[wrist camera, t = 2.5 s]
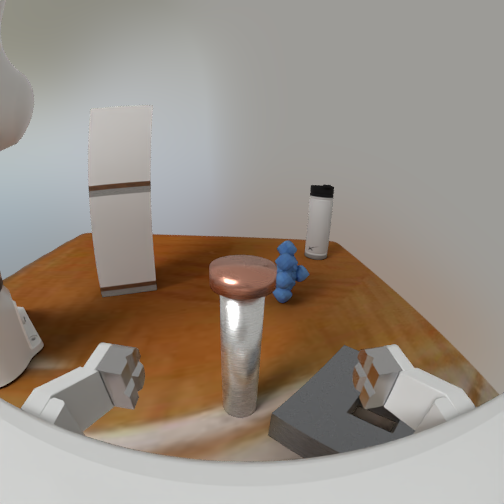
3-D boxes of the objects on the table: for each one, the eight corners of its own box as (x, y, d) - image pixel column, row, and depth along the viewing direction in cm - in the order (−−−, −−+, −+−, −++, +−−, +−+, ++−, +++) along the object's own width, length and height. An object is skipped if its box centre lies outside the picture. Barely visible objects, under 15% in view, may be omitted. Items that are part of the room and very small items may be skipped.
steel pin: (206, 403, 26) (195, 264, 21) (239, 382, 30) (243, 250, 25) (239, 431, 23) (243, 287, 18) (273, 405, 27) (290, 267, 21)
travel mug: (309, 260, 71) (316, 184, 65) (301, 252, 77) (307, 182, 71) (330, 260, 72) (339, 186, 66) (321, 252, 78) (328, 183, 72)
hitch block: (268, 435, 22) (271, 413, 21) (337, 368, 32) (344, 345, 31) (403, 504, 12) (424, 488, 11) (442, 411, 22) (456, 389, 21)
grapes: (305, 321, 44) (315, 252, 40) (264, 316, 45) (269, 247, 41) (305, 290, 54) (312, 232, 51) (272, 287, 55) (276, 229, 52)
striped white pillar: (150, 270, 60) (147, 115, 49) (157, 289, 52) (152, 105, 40) (104, 276, 56) (96, 118, 44) (102, 297, 47) (90, 108, 35)
